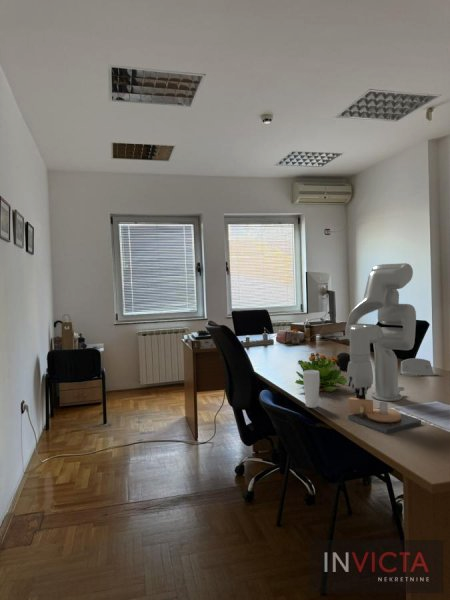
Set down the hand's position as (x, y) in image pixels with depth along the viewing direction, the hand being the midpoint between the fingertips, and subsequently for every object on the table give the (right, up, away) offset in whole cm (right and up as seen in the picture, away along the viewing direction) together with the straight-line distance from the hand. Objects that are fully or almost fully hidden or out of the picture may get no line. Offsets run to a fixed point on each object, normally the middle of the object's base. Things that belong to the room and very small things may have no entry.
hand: (360, 404), depth 158 cm
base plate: (+6, -5, -7) cm, 11 cm away
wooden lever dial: (+3, -3, -6) cm, 7 cm away
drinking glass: (-16, -5, +14) cm, 22 cm away
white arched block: (+52, -1, +65) cm, 83 cm away
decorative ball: (+18, -1, +84) cm, 86 cm away
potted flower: (-8, -3, +42) cm, 43 cm away
